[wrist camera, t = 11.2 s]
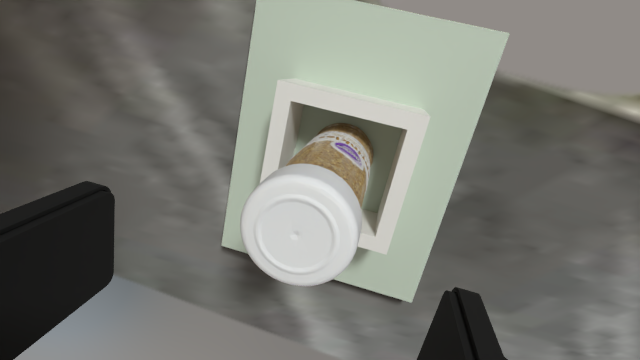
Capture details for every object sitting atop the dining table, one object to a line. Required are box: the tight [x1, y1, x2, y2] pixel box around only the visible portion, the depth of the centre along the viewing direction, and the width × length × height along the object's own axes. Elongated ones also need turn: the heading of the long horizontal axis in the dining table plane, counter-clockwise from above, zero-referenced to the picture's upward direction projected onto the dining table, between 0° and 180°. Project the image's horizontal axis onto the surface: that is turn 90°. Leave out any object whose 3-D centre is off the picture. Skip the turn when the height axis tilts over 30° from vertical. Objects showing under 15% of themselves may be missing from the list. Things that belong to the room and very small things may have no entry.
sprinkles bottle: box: [240, 123, 373, 286], centre depth 19 cm, size 5×5×14 cm
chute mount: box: [222, 0, 509, 303], centre depth 24 cm, size 20×16×6 cm
